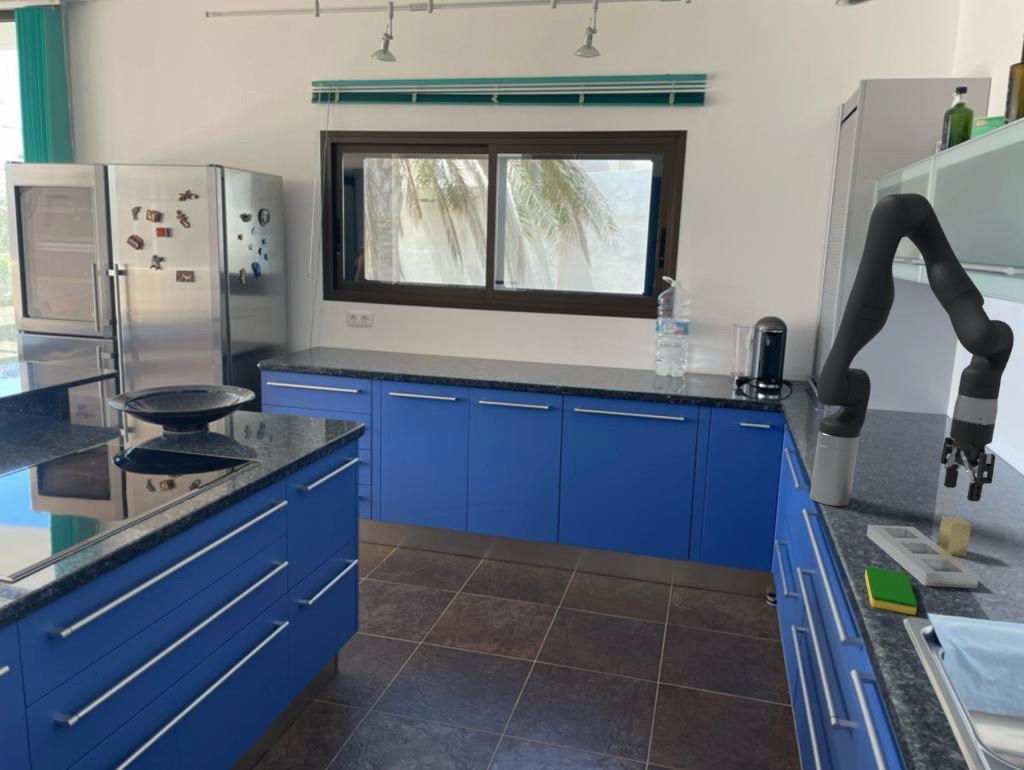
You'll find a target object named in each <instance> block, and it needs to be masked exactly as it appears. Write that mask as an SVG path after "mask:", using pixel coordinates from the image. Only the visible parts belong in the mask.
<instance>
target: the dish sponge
mask: <svg viewBox="0 0 1024 770" xmlns="http://www.w3.org/2000/svg"><path fill="white" fill-rule="evenodd" d="M864 572H865V573H864V579H865V584H866V588H867V592H868V598H869V602H870V607H872V608H878V609H882V610H887V611H893V612H895V613H896V612H897V613H902V614H908V615H917V607H918V603H917V599H916V597H915V593H914V591H913V588H912V585H911V581H910V578H909V576H908V574H907V573H906V572H901V571H895V570H889V569H885V568H884V569H883V568H879V567H873V566H868V565H867V566H866V567H865V571H864Z"/></svg>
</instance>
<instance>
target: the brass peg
mask: <svg viewBox="0 0 1024 770" xmlns="http://www.w3.org/2000/svg"><path fill="white" fill-rule="evenodd" d="M971 529H972V523H971V522H969V521H967V520H966V519H965V518H963V517H961V516H950V515H949V516H946V515H941V518H940V525H939V529H938V530H939V531H938V537H937V543H936V544H937V545H938V546H940V547H941V548H942V549H944V550H945V551H946V552H948V553H949V554H951V555H952V556H961V557H962V556H963V557H964V556H965V557H966V556H967V551H968V546H969V541H970V535H971Z"/></svg>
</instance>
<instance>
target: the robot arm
mask: <svg viewBox="0 0 1024 770" xmlns="http://www.w3.org/2000/svg"><path fill="white" fill-rule="evenodd" d="M865 237H866V238H865V242H864V243H865V244H864V247H863V251H862V256H861V258H860V261H859V265H858V269H857V272H856V275H855V277H854V278H855V279H854V282H853V285H852V287H851V289H850V292H849V296H848V299H847V302H846V305H845V308H844V311H843V314H842V318H841V322H840V325H839V327H838V331H837V333H836V336H835V338H834V341H833V345H832V346H831V349H830V351H829V353H828V356H827V357H826V360H825V363H824V364H823V367H822V369H821V371H820V374H819V377H818V380H817V384H816V395H817V399H818V401H819V402H820V404H822V405H825V406H829V407H830V406H831V407H839V408H838V410H836V412H834V413H832V414H830V415H828V416H824V418H822V419H821V420H820V421H819V427H818V434H817V441H816V449H815V455H814V463H813V469H812V470H813V471H812V478H811V484H810V493H809V498H810V499H811V500H813V501H815V502H817V503H821V504H822V505H823V504H824V505H826V506H827V505H829V506H836V507H843V506H848V505H849V504H850V502H851V501H850V500H851V497H852V496H851V495H852V488H853V483H854V477H855V476H854V475H855V470H856V469H855V468H856V463H857V455H858V450H859V441H860V435H861V430H862V428H863V426H864V424H865V421H866V416H867V410H868V406H869V401H870V398H871V397H870V396H871V388H872V387H871V386H872V385H871V384H872V383H871V378H870V376H869V374H868V373H867V372H866V371H865V370H864V369H862V368H853V367H851V368H850V366H851V364H852V362H853V361H854V359H855V357H856V356H857V355H858V354H859V352H860V351H861V350H862V349H863V348H864V347H865V346H867V345H868V344H869V343H870V342H871V341H872V340H873V339H874V338H875V337H876V336H877V335H878V334H879V333H880V332H881V331H882V330H883V328H885V325H886V323H887V321H888V319H889V317H890V316H889V315H890V313H891V311H892V307H893V304H894V301H895V296H896V295H895V294H896V289H895V281H894V275H893V264H894V260H895V256H896V254H897V250H898V247H899V245H900V242H901V241H902V239H903V238H908V239H909V240H910V242H911V243H913V245H914V246H915V248H917V250H918V251H919V253H920V254H921V256H922V258H923V259H922V260H923V261H924V266H925V271H926V277H927V281H928V284H929V288H930V289H931V291H932V293H933V294H934V296H935V297H936V299H937V301H938V303H939V304H941V306H942V308H943V309H944V311H945V312H946V313H947V315H948V317H949V319H950V323H951V325H952V328H953V330H954V333H955V335H956V337H957V339H958V341H959V343H960V345H961V346H962V347H963V348H964V349H965V350H966V351H967V352H968V353H970V354H971V355H972V356H971V360H970V363H969V364H968V365H967V366H965V368H964V369H963V370H962V372H961V375H960V379H959V383H958V384H959V386H958V391H957V397H956V400H955V403H954V406H953V412H952V418H951V419H952V420H951V425H950V432H949V437H947V436H946V437H944V442H943V446H942V451H941V457H940V464H942V465H944V468H945V475H944V482H943V485H944V487H945V488H950V489H951V488H952V489H955V488H956V487H957V483H958V482H957V481H958V477H959V469H961V467H963V468H964V469H965V472H966V473H967V474H968V476H969V480H970V482H969V485H968V489H967V490H968V491H967V497H966V499H967V500H968V501H969V502H980V500H981V497H982V491H983V487H984V485H985V484H989V485H991V484H992V482H993V477H994V470H995V463H996V455H995V453H994V454H993V453H987V452H986V446H987V445H989V444H992V443H993V439H994V433H995V426H996V421H997V415H998V411H999V410H998V408H999V407H998V406H999V405H998V401H999V396H1000V395H999V394H1000V389H1001V384H1002V383H1001V382H1002V376H1003V374H1004V372H1005V370H1006V368H1007V365H1008V363H1009V360H1010V358H1011V354H1012V352H1013V351H1012V350H1013V348H1014V344H1015V343H1014V341H1015V336H1014V332H1013V329H1012V327H1011V326H1010V325H1009V324H1008V323H1007V322H1005V321H1002V320H998V319H990V317H989V316H988V314H987V312H986V311H985V309H984V307H983V306H984V304H985V298H984V296H983V294H982V292H981V291H980V290H979V289H978V287H977V285H976V284H975V283H974V281H973V280H972V278H971V277H970V275H969V274H968V273H967V272H966V270H965V269H964V266H962V264H961V262H960V260H959V258H957V256H956V254H955V252H954V251H953V250H954V249H953V248H952V246H951V244H950V242H949V240H948V238H947V236H946V234H945V232H944V230H943V228H942V225H941V223H940V221H939V218H938V216H937V214H936V211H935V209H934V208H933V206H932V204H931V202H930V201H929V200H928V199H927V197H925V196H924V195H922V194H918V193H914V192H913V193H911V192H910V193H908V192H907V193H894V194H888V195H885V196H883V197H882V198H880V199H879V200H878V201H877V203H876V204H875V206H874V208H873V210H872V212H871V215H870V219H869V223H868V228H867V233H866V236H865ZM948 455H949V456H948ZM947 456H948V457H947ZM985 472H986V475H985Z"/></svg>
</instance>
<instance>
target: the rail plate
mask: <svg viewBox="0 0 1024 770" xmlns="http://www.w3.org/2000/svg"><path fill="white" fill-rule="evenodd" d="M866 537H868V538H869V539H870V540H871V541H872V542H873V541H874V542H873V543H875V544H876V546H878V547H879V548H880V549H881V550H882V551H884V552H885V553H887V555H889V556H890V557H891V558H892V560H894V561H896V563H898V564H899V565H900V566H901V567H902V568H903V569H905V570H906V571H907V572H908V574H910V575H911V576H913V577H914V578H915V579H916V580H918V582H920V584H922V585H923V586H924V587H925V586H926V587H927V586H928V587H945V588H947V587H948V588H949V587H950V588H966V589H978V586H979V579H980V575H979V574H978V573H976V572H974V571H973V570H972V569H971V568H969V567H968V566H967V565H966V564H964V563H963V562H961V561H960V560H959V559H958V558H956V557H954V555H951V554H949V553H948V552H946V551H945V550H944V549H942V548H941V547H940V546H938V545H937V543H936V542H934V541H933V540H932V539H930V538H929V537H927V535H926V534H924V533H922V532H921V531H920V530H918V529H917V528H916V527H914V526H902V525H901V526H899V525H882V524H881V525H880V524H879V525H878V524H868V525H867V531H866Z"/></svg>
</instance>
